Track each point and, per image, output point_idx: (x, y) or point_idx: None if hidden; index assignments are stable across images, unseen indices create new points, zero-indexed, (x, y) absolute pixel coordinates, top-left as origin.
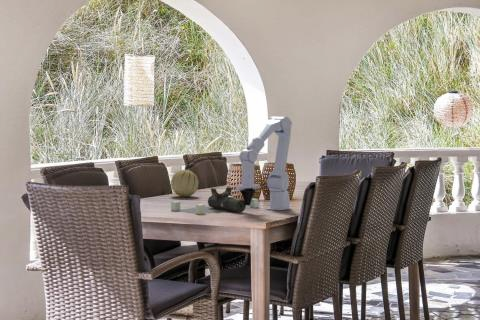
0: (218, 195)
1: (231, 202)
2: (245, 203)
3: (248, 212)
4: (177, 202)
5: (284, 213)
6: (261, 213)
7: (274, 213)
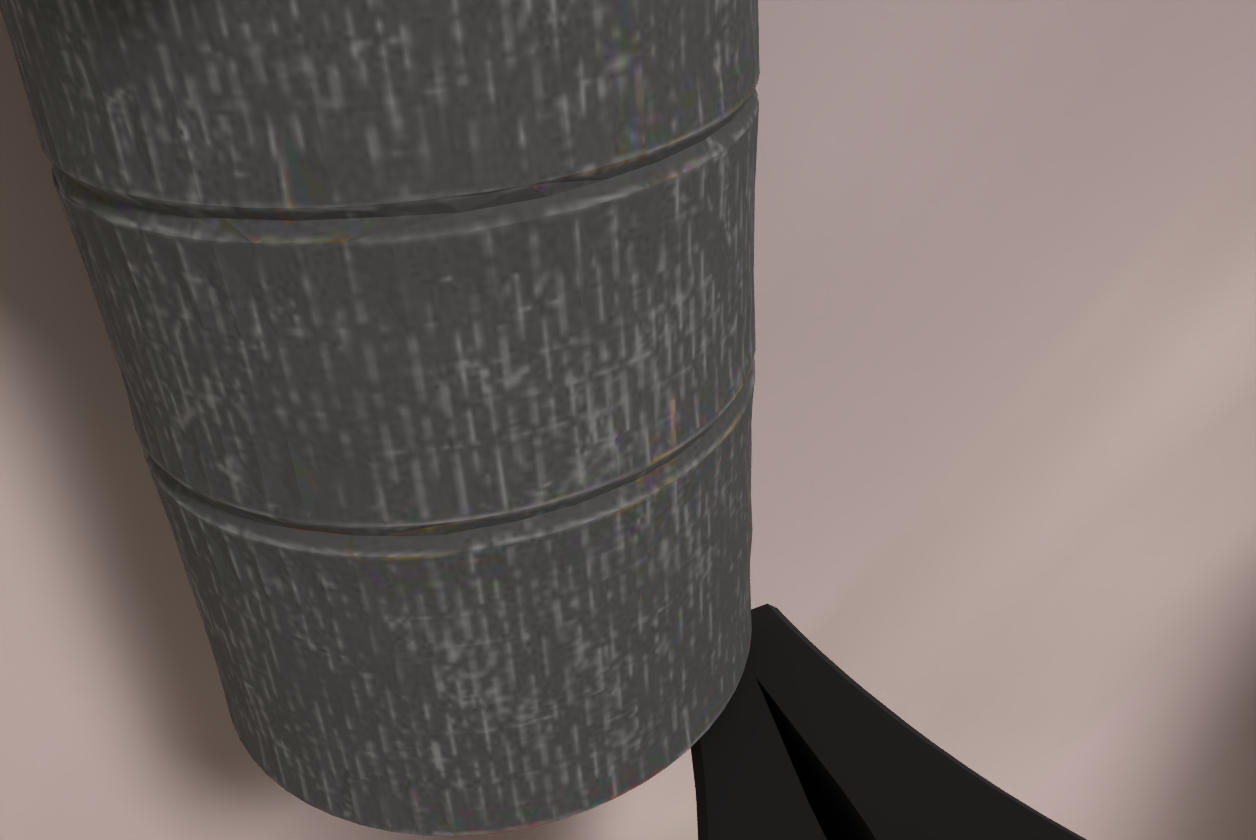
0: None
1: (144, 399)
2: None
3: None
4: None
5: (1235, 804)
6: None
7: (1097, 769)
